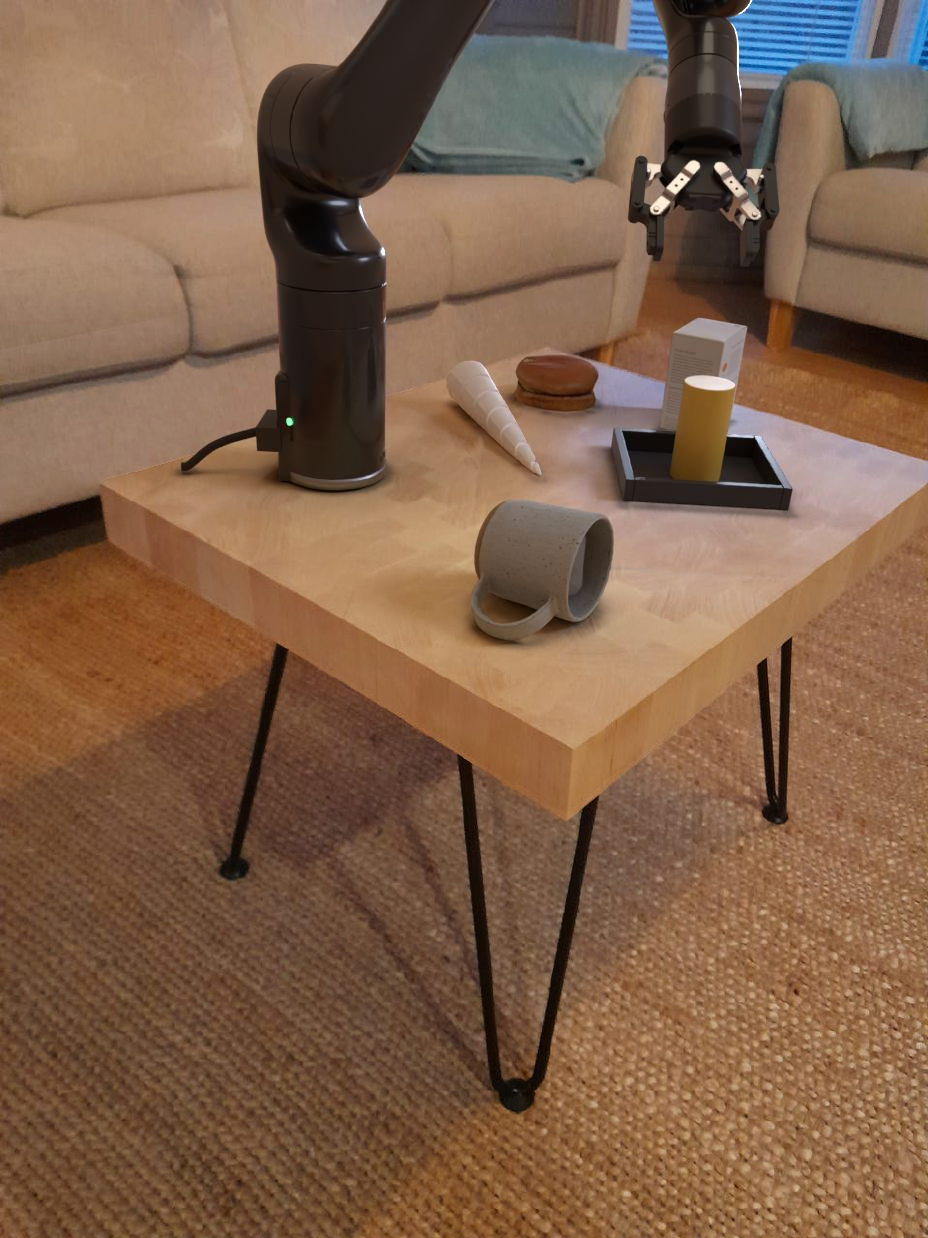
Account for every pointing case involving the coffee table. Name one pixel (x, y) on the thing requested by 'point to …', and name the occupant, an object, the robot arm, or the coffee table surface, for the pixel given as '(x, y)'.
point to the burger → (556, 382)
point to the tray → (741, 484)
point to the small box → (700, 360)
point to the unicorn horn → (489, 409)
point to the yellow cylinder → (702, 428)
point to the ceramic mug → (541, 563)
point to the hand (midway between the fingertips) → (702, 259)
